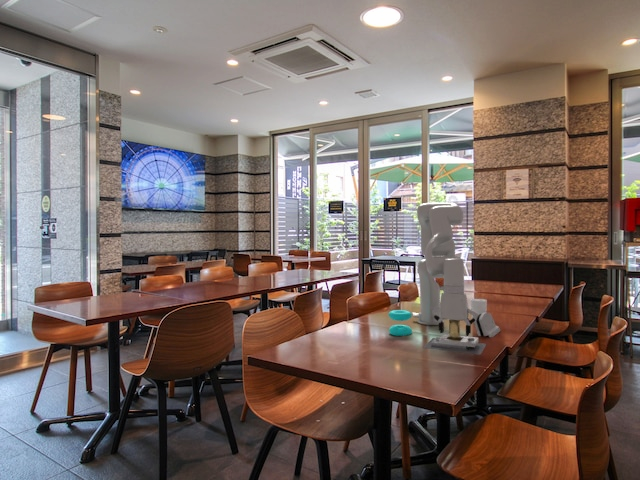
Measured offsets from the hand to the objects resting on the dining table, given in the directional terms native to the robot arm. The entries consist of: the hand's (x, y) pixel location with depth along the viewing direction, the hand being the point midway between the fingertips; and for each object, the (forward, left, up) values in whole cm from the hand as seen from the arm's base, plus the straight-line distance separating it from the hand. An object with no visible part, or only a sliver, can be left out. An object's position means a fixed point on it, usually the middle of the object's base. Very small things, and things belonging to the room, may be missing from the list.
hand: (454, 333), depth 158 cm
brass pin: (0, 0, -5) cm, 5 cm away
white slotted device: (+8, +28, -6) cm, 29 cm away
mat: (0, 0, -5) cm, 5 cm away
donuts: (-25, +11, -5) cm, 28 cm away
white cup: (+1, +56, -5) cm, 56 cm away
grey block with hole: (0, 0, -5) cm, 5 cm away
